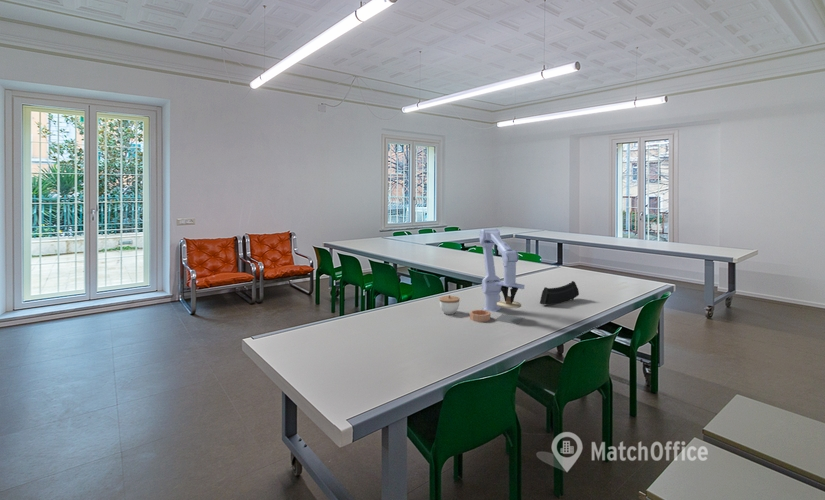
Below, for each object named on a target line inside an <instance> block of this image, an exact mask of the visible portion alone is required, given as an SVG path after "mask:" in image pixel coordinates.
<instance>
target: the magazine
mask: <svg viewBox="0 0 825 500" xmlns="http://www.w3.org/2000/svg"><path fill="white" fill-rule="evenodd" d="M579 295H580V292H579V288H578V285H577V283H576V281H574V280H572V281H571V282H570V283H568V284H565V285H562V286H558V287H557V286H556V287H545V286H544V288H543V290H542V292H541V297H540V301H539V304H540V305H544V306H545V305H558V304H559V305H560V304H563V303H567V302H569V301H572V300H574V299H575V298H577V297H578V296H579Z"/></svg>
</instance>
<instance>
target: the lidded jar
mask: <svg viewBox="0 0 825 500" xmlns="http://www.w3.org/2000/svg"><path fill="white" fill-rule="evenodd" d="M439 307H440V309H441V311H442V312H443V314H446V315H453V314H455V313H456V312H457V311H458V310H459V307H460V298H459V297H457V296H454V295H453V296H452V295H450V294H449V295H444V296H440V297H439Z"/></svg>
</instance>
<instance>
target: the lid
mask: <svg viewBox="0 0 825 500" xmlns="http://www.w3.org/2000/svg"><path fill="white" fill-rule="evenodd" d="M497 306H499V307H502V309H503V308H504V309H518V308H521V307H522V303H521V302H518V301H515V300H514V301H513V302H511V295H508V296H507V297H506V302H505V300H500V301H499V302H497Z"/></svg>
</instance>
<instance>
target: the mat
mask: <svg viewBox="0 0 825 500" xmlns="http://www.w3.org/2000/svg"><path fill="white" fill-rule="evenodd" d="M525 319H526V317H521V316H515V315H509V314H504V313H503V314H501V315H500V316H497V317H496V318H495V319H494V322H495V321H496V322H502V323H507V324H515V325H518V324H520V323H521V322H522V321H523V320H525Z"/></svg>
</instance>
